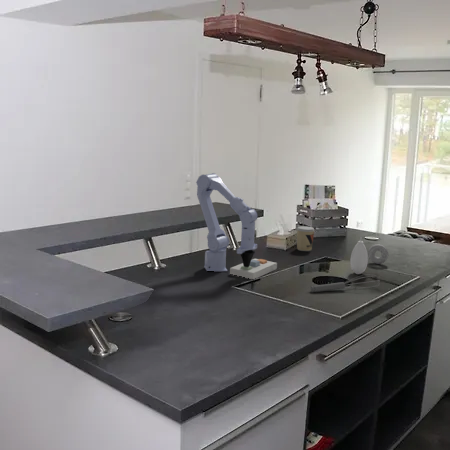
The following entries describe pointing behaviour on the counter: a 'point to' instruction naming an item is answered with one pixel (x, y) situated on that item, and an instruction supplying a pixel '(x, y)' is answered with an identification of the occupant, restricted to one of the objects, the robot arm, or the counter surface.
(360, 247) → the sauce bottle
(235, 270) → the button panel
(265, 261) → the terracotta button
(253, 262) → the slate blue button
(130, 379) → the counter surface
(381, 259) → the donut
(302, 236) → the coffee cup
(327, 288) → the kitchen whisk
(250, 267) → the sage green button
